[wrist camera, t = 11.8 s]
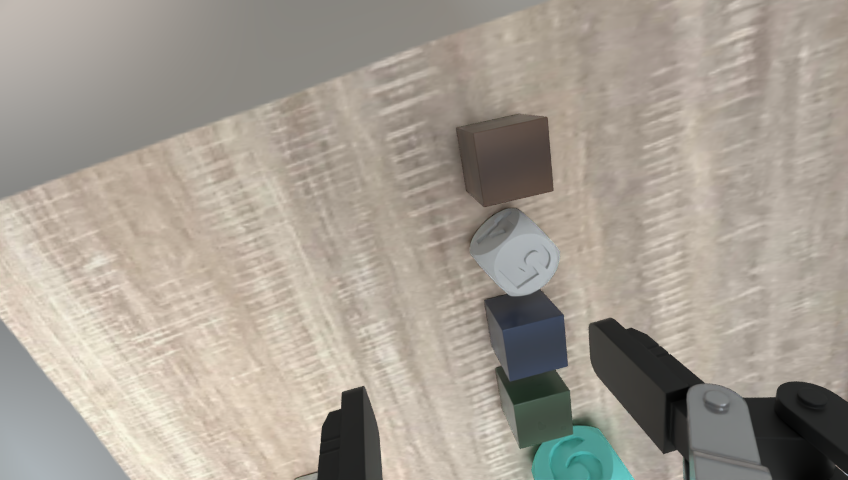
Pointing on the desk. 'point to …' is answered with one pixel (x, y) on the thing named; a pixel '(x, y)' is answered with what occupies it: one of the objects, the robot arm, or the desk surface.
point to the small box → (308, 477)
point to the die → (515, 252)
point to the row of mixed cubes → (530, 314)
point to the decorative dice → (579, 458)
